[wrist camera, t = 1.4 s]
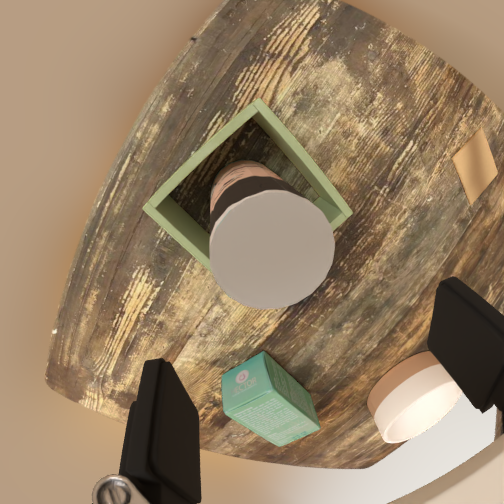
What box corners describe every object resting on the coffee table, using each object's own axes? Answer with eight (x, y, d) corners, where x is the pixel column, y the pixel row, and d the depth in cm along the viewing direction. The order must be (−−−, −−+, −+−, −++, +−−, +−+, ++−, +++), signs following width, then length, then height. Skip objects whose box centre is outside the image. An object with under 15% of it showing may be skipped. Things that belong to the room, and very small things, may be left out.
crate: (250, 103, 26) (259, 97, 20) (329, 197, 30) (353, 213, 25) (155, 192, 28) (141, 208, 22) (240, 273, 33) (246, 304, 27)
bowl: (354, 391, 45) (371, 428, 37) (436, 334, 42) (462, 364, 35) (379, 422, 51) (393, 451, 44) (445, 376, 49) (464, 402, 41)
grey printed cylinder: (290, 179, 29) (357, 229, 16) (257, 235, 31) (293, 324, 18) (231, 147, 27) (248, 167, 14) (199, 207, 29) (187, 282, 16)
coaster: (480, 127, 29) (482, 127, 28) (496, 172, 32) (497, 173, 31) (451, 158, 30) (453, 158, 30) (469, 204, 33) (471, 205, 33)
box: (262, 347, 37) (272, 390, 31) (310, 391, 43) (323, 428, 36) (218, 372, 38) (221, 415, 32) (271, 411, 44) (279, 448, 37)
